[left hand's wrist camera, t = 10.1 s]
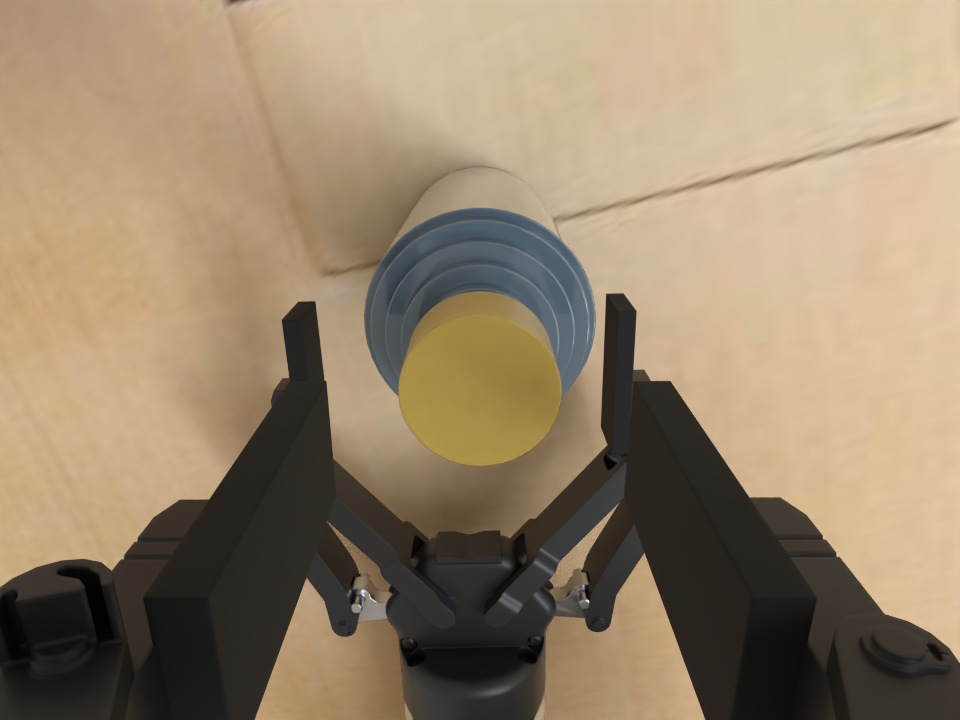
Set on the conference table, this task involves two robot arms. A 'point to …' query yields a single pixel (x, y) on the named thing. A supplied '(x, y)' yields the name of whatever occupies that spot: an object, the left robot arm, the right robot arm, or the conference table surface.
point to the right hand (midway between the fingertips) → (459, 305)
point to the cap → (479, 380)
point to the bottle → (479, 267)
